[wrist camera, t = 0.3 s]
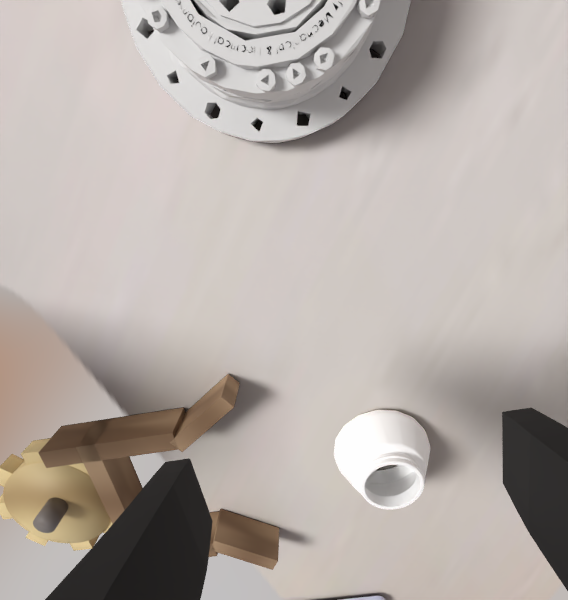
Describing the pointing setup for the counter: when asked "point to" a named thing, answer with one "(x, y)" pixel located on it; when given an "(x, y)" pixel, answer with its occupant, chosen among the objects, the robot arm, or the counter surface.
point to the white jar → (384, 457)
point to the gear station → (118, 478)
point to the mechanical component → (266, 58)
